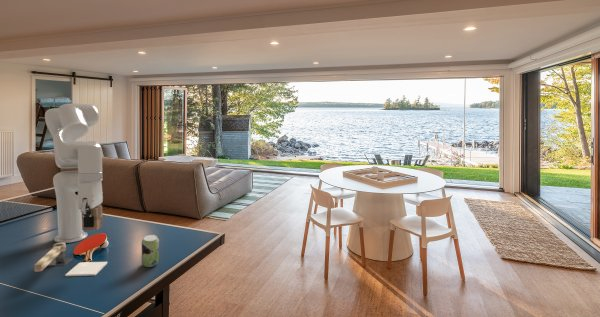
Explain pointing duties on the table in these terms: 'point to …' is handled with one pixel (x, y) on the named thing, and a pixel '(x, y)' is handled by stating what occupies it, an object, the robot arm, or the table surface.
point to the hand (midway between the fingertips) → (92, 224)
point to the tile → (86, 269)
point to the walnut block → (95, 218)
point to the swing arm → (51, 256)
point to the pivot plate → (60, 262)
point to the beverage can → (150, 250)
